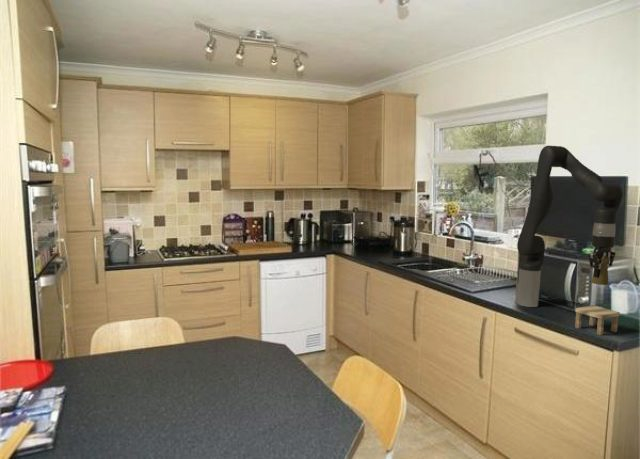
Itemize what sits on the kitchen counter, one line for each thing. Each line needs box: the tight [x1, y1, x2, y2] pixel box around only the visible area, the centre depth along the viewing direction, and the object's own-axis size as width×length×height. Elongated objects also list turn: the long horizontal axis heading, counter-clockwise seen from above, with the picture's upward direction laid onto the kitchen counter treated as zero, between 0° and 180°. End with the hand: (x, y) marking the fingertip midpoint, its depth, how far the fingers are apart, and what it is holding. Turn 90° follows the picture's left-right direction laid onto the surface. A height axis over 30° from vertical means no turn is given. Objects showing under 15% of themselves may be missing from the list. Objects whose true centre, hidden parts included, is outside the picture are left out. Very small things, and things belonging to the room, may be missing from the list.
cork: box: [590, 256, 610, 286], centre depth 184 cm, size 6×6×11 cm
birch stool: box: [574, 304, 621, 336], centre depth 186 cm, size 11×11×8 cm
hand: (600, 277), depth 185 cm, fingers closed on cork, 3 cm apart
